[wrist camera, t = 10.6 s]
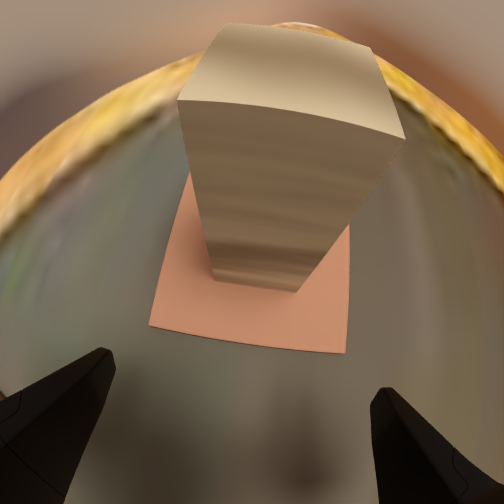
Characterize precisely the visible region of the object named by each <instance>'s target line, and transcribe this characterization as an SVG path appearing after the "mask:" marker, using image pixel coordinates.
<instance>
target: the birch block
mask: <svg viewBox="0 0 504 504" xmlns="http://www.w3.org/2000/svg"><path fill="white" fill-rule="evenodd" d="M177 104H178V110H179V116H180V121H181V127H182V132H183V138H184V143H185V148H186V153H187V158H188V163H189V168H190V173H191V178H192V183H193V188H194V192H195V197H196V202H197V206H198V211H199V215H200V220H201V224H202V229H203V233H204V237H205V242H206V246H207V250H208V254H209V258H210V263H211V267H212V271H213V275H214V279H215V281H217V282H224V283H230V284H237V285H243V286H250V287H256V288H263V289H270V290H277V291H285V292H292V293H297V291H298V290H299V289H300V288H301V286H302V285H303V284H304V282H305V281H306V280H307V279H308V277H309V276H310V275H311V273H312V272H313V271H314V270H315V268H316V267H317V266H318V264H319V263H320V262H321V260H322V259H323V258H324V257H325V255H326V254H327V253H328V251H329V250H330V249H331V247H332V246H333V244H334V243H335V242H336V240H337V239H338V238H339V236H340V235H341V234H342V232H343V231H344V230H345V228H346V227H347V225H348V224H349V223H350V221H351V220H352V218H353V217H354V216H355V214H356V213H357V211H358V210H359V209H360V207H361V206H362V204H363V203H364V201H365V200H366V198H367V197H368V196H369V194H370V193H371V191H372V190H373V188H374V187H375V185H376V184H377V182H378V181H379V179H380V178H381V176H382V175H383V173H384V172H385V170H386V169H387V167H388V166H389V164H390V163H391V161H392V160H393V158H394V157H395V155H396V154H397V152H398V150H399V149H400V147H401V146H402V144H403V143H404V141H405V136H404V133H403V129H402V126H401V123H400V120H399V117H398V114H397V111H396V109H395V106H394V103H393V100H392V98H391V95H390V92H389V90H388V87H387V85H386V82H385V80H384V78H383V75H382V73H381V71H380V68H379V66H378V64H377V62H376V59H375V57H374V55H373V53H372V51H371V49H370V48H369V47H366V46H363V45H359V44H356V43H353V42H349V41H346V40H342V39H338V38H334V37H329V36H325V35H320V34H316V33H311V32H305V31H300V30H294V29H287V28H280V27H273V26H264V25H253V24H238V23H225V25H224V26H223V27H222V29H221V30H220V32H219V33H218V34H217V36H216V37H215V39H214V40H213V42H212V43H211V45H210V46H209V48H208V49H207V51H206V52H205V54H204V55H203V57H202V58H201V60H200V61H199V63H198V65H197V66H196V68H195V69H194V71H193V73H192V74H191V76H190V78H189V79H188V81H187V83H186V84H185V86H184V88H183V90H182V91H181V93H180V95H179V97H178V98H177Z"/></svg>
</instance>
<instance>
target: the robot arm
mask: <svg viewBox="0 0 504 504" xmlns="http://www.w3.org/2000/svg"><path fill="white" fill-rule="evenodd" d="M115 371H116V366H115V362H114V358H113V354H112V351H111V350H109V349H106V348H103V347H100V348H97V349H95V350H94V351H92V352H90V353H88V354H86V355H85V356H83V357H81V358H79V359H77V360H76V361H74V362H72V363H70V364H68V365H66V366H65V367H63V368H61V369H59V370H57V371H55V372H54V373H52V374H50V375H48V376H46V377H44V378H43V379H41V380H39V381H37V382H35V383H33V384H32V385H30V386H28V387H26V388H24V389H23V390H20V391H19V392H17V393H15V394H13V395H11V396H9V397H7V398H5V399H3V400H1V401H0V504H63V503H64V501H65V497H66V495H67V492H68V489H69V487H70V484H71V482H72V479H73V477H74V474H75V472H76V469H77V467H78V464H79V462H80V459H81V457H82V455H83V452H84V450H85V448H86V445H87V443H88V441H89V438H90V436H91V434H92V432H93V429H94V427H95V425H96V423H97V421H98V418H99V416H100V414H101V412H102V409H103V407H104V404H105V401H106V398H107V395H108V392H109V389H110V386H111V383H112V380H113V378H114V375H115ZM370 417H371V438H372V449H373V456H374V463H375V471H376V479H377V488H378V497H379V504H504V485H503V484H500V483H498V482H496V481H495V480H493V479H492V478H491V477H489V476H488V475H487V474H485V473H484V472H483V471H481V470H480V469H479V468H477V467H476V466H475V465H474V464H472V463H471V462H470V461H469V460H468V459H466V458H465V457H464V456H463V455H462V454H461V453H460V452H459V451H458V450H457V449H456V448H455V447H453V446H452V445H451V444H450V443H449V442H448V441H447V440H446V439H445V438H444V437H443V436H442V435H441V434H440V433H439V432H438V431H437V430H436V429H435V428H434V427H433V426H432V425H431V424H430V423H428V422H427V421H426V420H425V419H424V418H423V417H422V416H421V415H420V414H419V413H418V412H417V411H416V410H415V409H414V408H413V407H412V406H411V405H410V404H409V403H408V402H407V401H406V400H405V399H403V398H402V397H401V396H400V395H399V394H398V393H397V392H396V391H395V390H394V389H393V388H391V387H383V388H381V389H379V391H378V392H377V394H376V395H375V397H374V399H373V400H372V402H371V404H370Z"/></svg>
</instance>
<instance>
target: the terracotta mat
mask: <svg viewBox="0 0 504 504" xmlns="http://www.w3.org/2000/svg"><path fill="white" fill-rule="evenodd" d="M349 255H350V249H349V224H348V225H347V227H346V228H345V230H344V231H343V232H342V234H341V235H340V236H339V238H338V239H337V240H336V242H335V243H334V244H333V246H332V247H331V249H330V250H329V251H328V253H327V254H326V255H325V257H324V258H323V259H322V260H321V262H320V263H319V264H318V266H317V267H316V268H315V270H314V271H313V272H312V273H311V275H310V276H309V277H308V279H307V280H306V281H305V282H304V284H303V285H302V286H301V288H300V289H299V290H298V291H297V293H292V292H285V291H277V290H270V289H263V288H256V287H250V286H243V285H237V284H230V283H224V282H217V281H215V279H214V275H213V271H212V267H211V263H210V258H209V254H208V250H207V246H206V242H205V237H204V233H203V229H202V224H201V220H200V215H199V211H198V206H197V202H196V197H195V192H194V188H193V183H192V178H191V173H189V176H188V179H187V182H186V185H185V188H184V191H183V194H182V198H181V201H180V204H179V207H178V211H177V214H176V217H175V221H174V224H173V228H172V231H171V235H170V238H169V242H168V246H167V249H166V253H165V257H164V261H163V265H162V269H161V273H160V277H159V281H158V285H157V289H156V294H155V298H154V303H153V307H152V312H151V316H150V321H149V326H153V327H157V328H162V329H166V330H171V331H176V332H181V333H186V334H191V335H196V336H201V337H207V338H213V339H218V340H224V341H231V342H237V343H244V344H251V345H258V346H266V347H274V348H282V349H292V350H301V351H312V352H325V353H339V354H344V353H345V347H346V334H347V319H348V300H349Z"/></svg>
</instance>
